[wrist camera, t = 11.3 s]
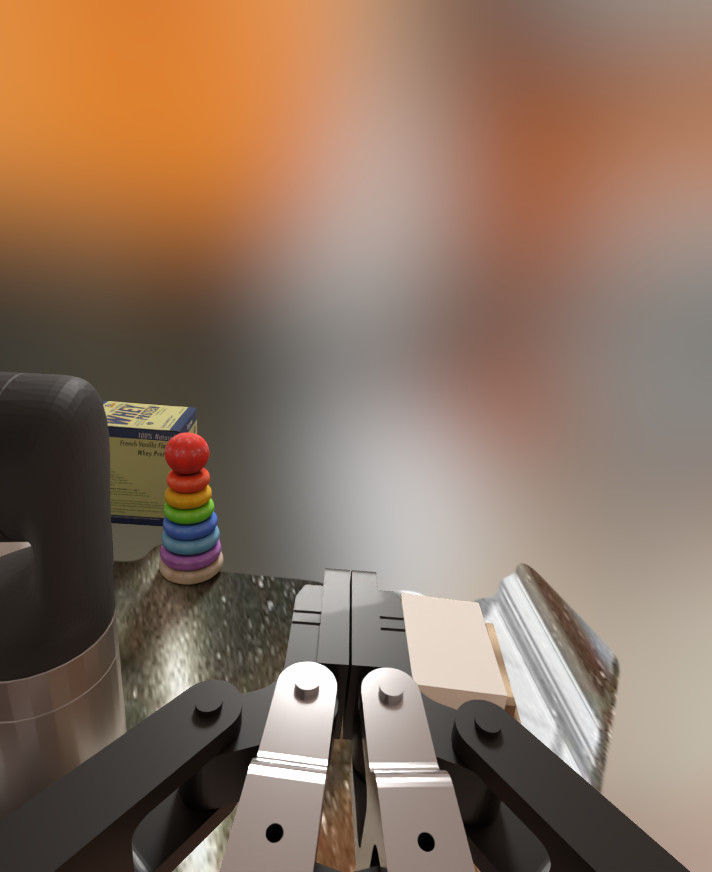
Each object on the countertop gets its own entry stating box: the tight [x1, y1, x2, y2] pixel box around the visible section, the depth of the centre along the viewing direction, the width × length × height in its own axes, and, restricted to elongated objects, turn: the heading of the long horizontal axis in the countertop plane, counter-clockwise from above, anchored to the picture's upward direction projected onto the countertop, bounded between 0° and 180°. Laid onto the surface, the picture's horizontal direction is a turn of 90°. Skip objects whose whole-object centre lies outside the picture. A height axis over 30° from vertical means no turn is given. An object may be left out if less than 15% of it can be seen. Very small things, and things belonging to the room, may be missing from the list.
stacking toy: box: [159, 433, 223, 585], centre depth 62 cm, size 8×8×19 cm
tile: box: [400, 593, 507, 710], centre depth 51 cm, size 3×9×14 cm
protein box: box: [102, 401, 197, 526], centre depth 75 cm, size 10×16×16 cm
